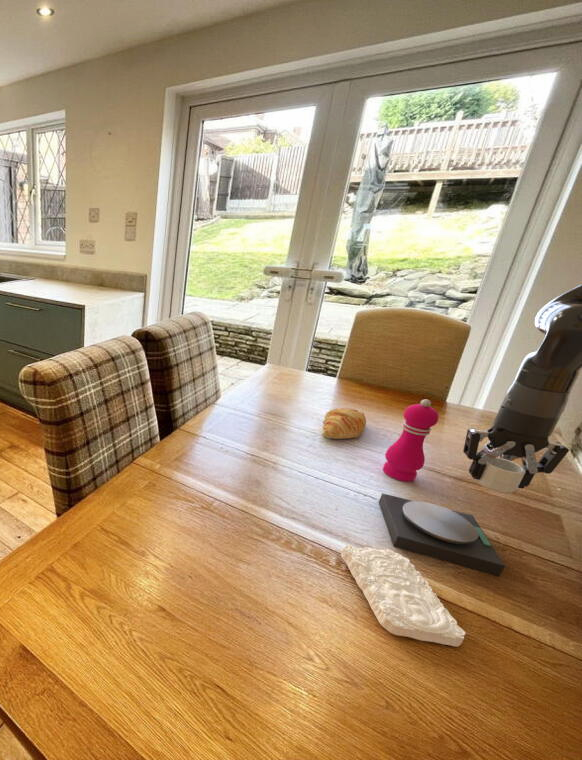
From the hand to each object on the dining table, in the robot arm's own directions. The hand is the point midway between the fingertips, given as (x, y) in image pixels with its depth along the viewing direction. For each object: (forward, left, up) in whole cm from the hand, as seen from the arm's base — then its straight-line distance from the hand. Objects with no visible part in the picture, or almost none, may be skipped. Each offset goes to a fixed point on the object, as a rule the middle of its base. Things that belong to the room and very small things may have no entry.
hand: (495, 481), depth 80 cm
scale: (+11, +13, -8) cm, 19 cm away
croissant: (+22, -28, -8) cm, 37 cm away
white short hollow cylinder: (0, 0, -1) cm, 1 cm away
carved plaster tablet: (+21, +33, -8) cm, 40 cm away
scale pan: (+11, +13, -5) cm, 18 cm away
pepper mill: (+12, -9, -8) cm, 17 cm away
